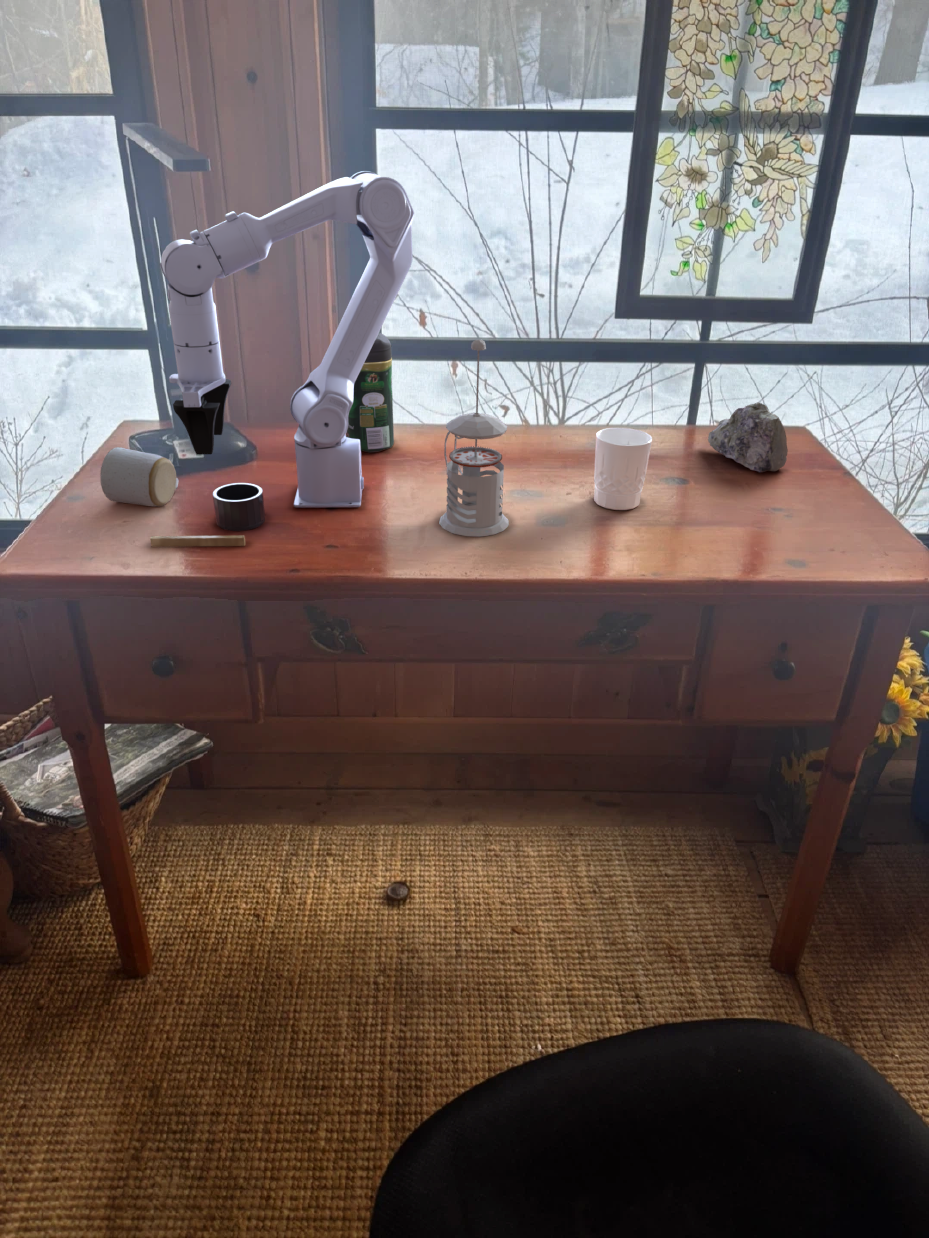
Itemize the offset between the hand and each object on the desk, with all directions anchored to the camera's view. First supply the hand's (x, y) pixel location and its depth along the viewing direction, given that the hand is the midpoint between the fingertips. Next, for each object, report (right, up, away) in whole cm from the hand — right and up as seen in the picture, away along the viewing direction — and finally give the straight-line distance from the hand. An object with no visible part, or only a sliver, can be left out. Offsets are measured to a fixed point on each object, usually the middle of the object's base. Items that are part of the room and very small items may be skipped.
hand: (209, 443), depth 124 cm
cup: (+4, -10, +2) cm, 11 cm away
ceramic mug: (-11, -7, +8) cm, 16 cm away
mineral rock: (+81, +2, +27) cm, 85 cm away
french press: (+35, -10, +4) cm, 37 cm away
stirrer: (0, -14, -5) cm, 14 cm away
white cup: (+57, -7, +11) cm, 58 cm away
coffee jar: (+19, +5, +30) cm, 36 cm away
